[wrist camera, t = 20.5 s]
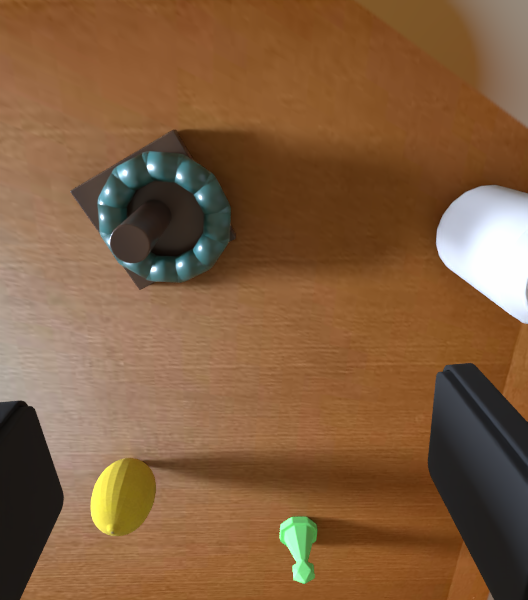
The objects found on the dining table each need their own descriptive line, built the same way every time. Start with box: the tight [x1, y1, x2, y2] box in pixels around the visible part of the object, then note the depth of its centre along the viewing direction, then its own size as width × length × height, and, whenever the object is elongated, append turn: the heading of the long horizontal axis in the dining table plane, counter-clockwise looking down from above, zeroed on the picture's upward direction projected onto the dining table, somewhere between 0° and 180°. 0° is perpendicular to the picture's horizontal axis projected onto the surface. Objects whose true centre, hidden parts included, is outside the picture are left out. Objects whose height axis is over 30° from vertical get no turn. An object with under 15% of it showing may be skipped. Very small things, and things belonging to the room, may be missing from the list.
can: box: [436, 185, 528, 324], centre depth 30 cm, size 8×8×12 cm
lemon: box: [91, 458, 156, 536], centre depth 40 cm, size 6×6×8 cm
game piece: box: [280, 517, 317, 584], centre depth 46 cm, size 4×4×6 cm
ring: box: [98, 151, 231, 283], centre depth 32 cm, size 10×10×2 cm
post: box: [70, 130, 236, 290], centre depth 30 cm, size 9×9×9 cm
